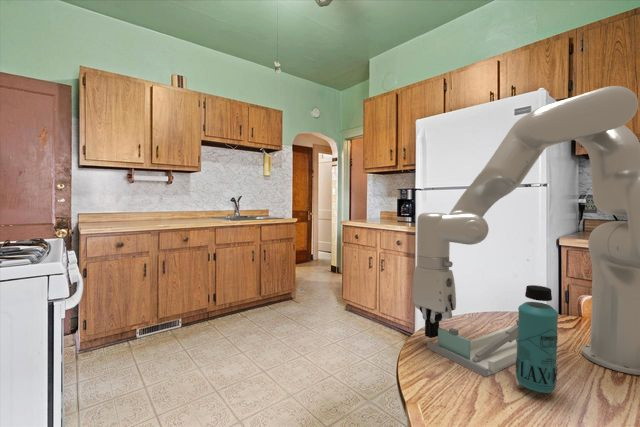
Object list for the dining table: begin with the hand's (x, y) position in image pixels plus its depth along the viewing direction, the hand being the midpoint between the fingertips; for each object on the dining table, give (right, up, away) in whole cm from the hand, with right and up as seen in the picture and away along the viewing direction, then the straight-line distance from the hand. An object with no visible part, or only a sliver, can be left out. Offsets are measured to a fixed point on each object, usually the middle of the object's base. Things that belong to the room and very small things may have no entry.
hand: (431, 336), depth 78 cm
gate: (+3, -2, -5) cm, 7 cm away
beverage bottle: (+13, -4, -18) cm, 23 cm away
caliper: (+15, -2, -4) cm, 16 cm away
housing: (+14, -3, -1) cm, 14 cm away
